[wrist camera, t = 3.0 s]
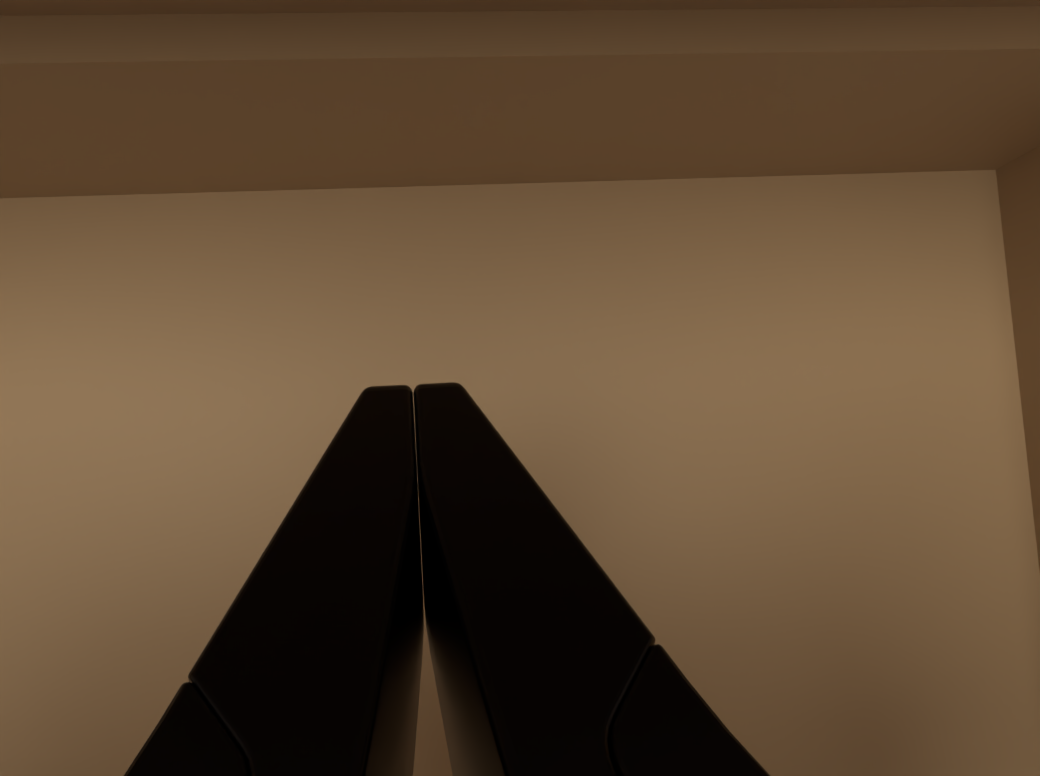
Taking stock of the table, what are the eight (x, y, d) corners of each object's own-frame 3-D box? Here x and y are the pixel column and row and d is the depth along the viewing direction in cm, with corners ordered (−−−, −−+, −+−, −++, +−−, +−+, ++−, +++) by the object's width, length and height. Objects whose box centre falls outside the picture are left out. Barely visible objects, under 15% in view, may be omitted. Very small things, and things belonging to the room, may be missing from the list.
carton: (1095, 989, 18) (1423, 1232, 12) (-313, 1169, 16) (-761, 1590, 10) (1003, 148, 20) (1257, 4, 14) (-299, 184, 17) (-681, 21, 11)
